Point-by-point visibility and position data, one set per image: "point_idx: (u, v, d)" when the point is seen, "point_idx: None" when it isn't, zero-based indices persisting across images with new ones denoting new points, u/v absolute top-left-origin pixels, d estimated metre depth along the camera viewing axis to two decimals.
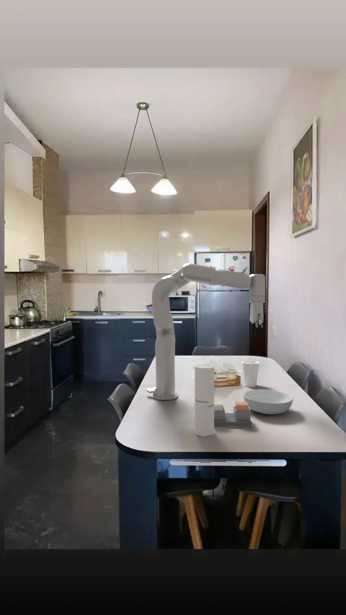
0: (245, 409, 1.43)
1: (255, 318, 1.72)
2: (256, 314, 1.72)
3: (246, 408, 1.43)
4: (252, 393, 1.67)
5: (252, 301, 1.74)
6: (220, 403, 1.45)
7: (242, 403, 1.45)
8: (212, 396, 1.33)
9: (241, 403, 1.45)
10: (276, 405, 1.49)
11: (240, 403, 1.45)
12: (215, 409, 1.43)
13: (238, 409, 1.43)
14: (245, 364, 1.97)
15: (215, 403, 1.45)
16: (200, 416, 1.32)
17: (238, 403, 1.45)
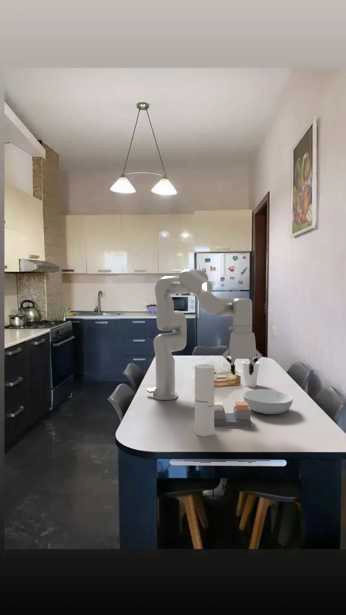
0: (245, 409, 1.43)
1: (255, 352, 1.42)
2: (255, 347, 1.43)
3: (246, 408, 1.43)
4: (252, 393, 1.67)
5: (249, 332, 1.41)
6: (220, 403, 1.45)
7: (242, 403, 1.45)
8: (212, 396, 1.33)
9: (241, 403, 1.45)
10: (276, 405, 1.49)
11: (240, 403, 1.45)
12: (215, 409, 1.43)
13: (238, 409, 1.43)
14: (245, 364, 1.97)
15: (215, 403, 1.45)
16: (200, 416, 1.32)
17: (238, 403, 1.45)
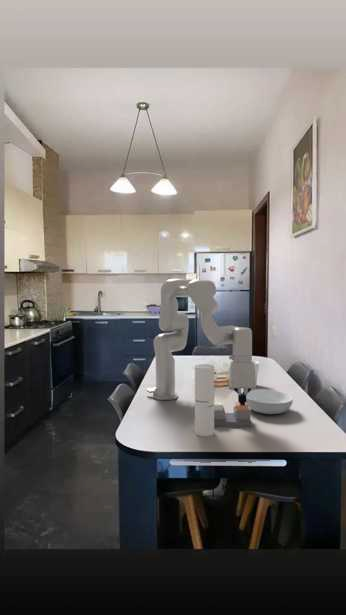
0: (245, 410, 1.43)
1: (255, 381, 1.43)
2: (255, 376, 1.43)
3: (246, 409, 1.43)
4: (252, 393, 1.67)
5: (249, 362, 1.41)
6: (220, 403, 1.45)
7: None
8: (212, 396, 1.33)
9: None
10: (276, 405, 1.49)
11: (240, 404, 1.45)
12: (215, 409, 1.43)
13: (238, 410, 1.43)
14: None
15: (215, 403, 1.45)
16: (200, 416, 1.32)
17: (238, 404, 1.45)
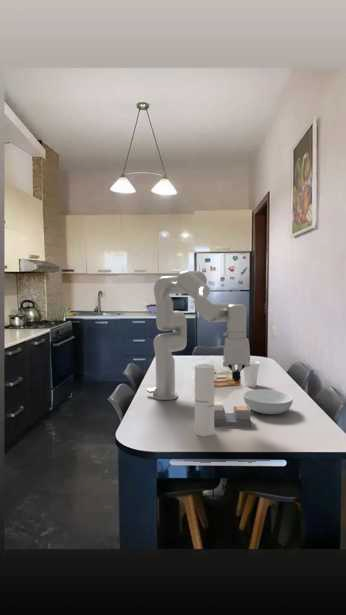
0: None
1: None
2: (249, 353, 1.43)
3: None
4: (252, 393, 1.67)
5: (244, 338, 1.41)
6: (220, 403, 1.45)
7: (242, 408, 1.45)
8: (212, 396, 1.33)
9: (241, 408, 1.45)
10: (276, 405, 1.49)
11: (240, 408, 1.45)
12: (215, 409, 1.43)
13: None
14: None
15: (215, 403, 1.45)
16: (200, 416, 1.32)
17: (238, 408, 1.45)
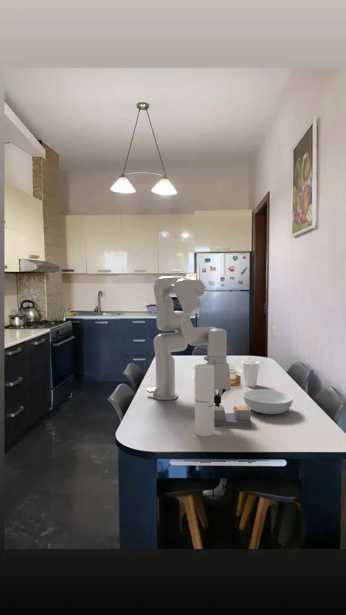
0: None
1: None
2: None
3: None
4: (252, 393, 1.67)
5: (224, 363, 1.42)
6: (220, 405, 1.45)
7: (242, 408, 1.45)
8: (212, 396, 1.33)
9: (241, 408, 1.45)
10: (276, 405, 1.49)
11: (240, 408, 1.45)
12: None
13: None
14: (245, 364, 1.97)
15: None
16: (200, 416, 1.32)
17: (238, 408, 1.45)
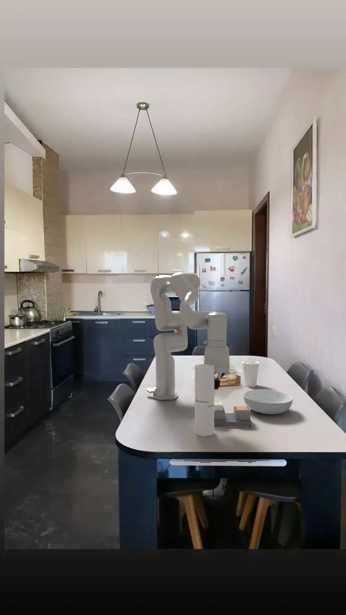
0: None
1: (229, 366, 1.43)
2: (229, 361, 1.43)
3: None
4: (252, 393, 1.67)
5: (223, 347, 1.42)
6: (220, 403, 1.45)
7: (242, 408, 1.45)
8: (212, 396, 1.33)
9: (241, 408, 1.45)
10: (276, 405, 1.49)
11: (240, 408, 1.45)
12: (215, 409, 1.43)
13: None
14: (245, 364, 1.97)
15: (215, 403, 1.45)
16: (200, 416, 1.32)
17: (238, 408, 1.45)
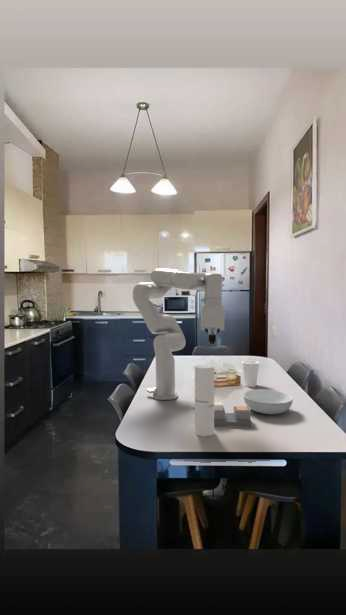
0: None
1: (224, 322, 1.57)
2: None
3: None
4: (252, 393, 1.67)
5: (219, 304, 1.55)
6: (220, 403, 1.45)
7: (242, 408, 1.45)
8: (212, 396, 1.33)
9: (241, 408, 1.45)
10: (276, 405, 1.49)
11: (240, 408, 1.45)
12: (215, 409, 1.43)
13: None
14: (245, 364, 1.97)
15: (215, 403, 1.45)
16: (200, 416, 1.32)
17: (238, 408, 1.45)
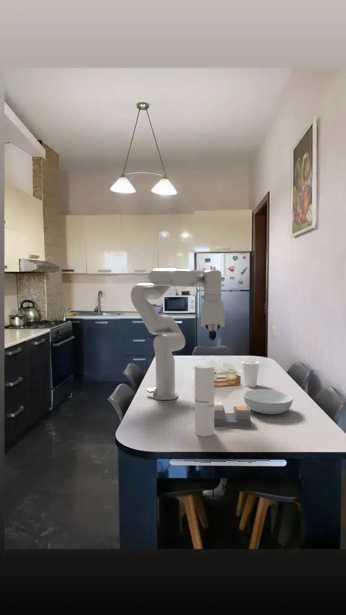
0: None
1: (224, 318, 1.58)
2: None
3: None
4: (252, 393, 1.67)
5: (219, 300, 1.57)
6: (220, 403, 1.45)
7: (242, 408, 1.45)
8: (212, 396, 1.33)
9: (241, 408, 1.45)
10: (276, 405, 1.49)
11: (240, 408, 1.45)
12: (215, 409, 1.43)
13: None
14: (245, 364, 1.97)
15: (215, 403, 1.45)
16: (200, 416, 1.32)
17: (238, 408, 1.45)
